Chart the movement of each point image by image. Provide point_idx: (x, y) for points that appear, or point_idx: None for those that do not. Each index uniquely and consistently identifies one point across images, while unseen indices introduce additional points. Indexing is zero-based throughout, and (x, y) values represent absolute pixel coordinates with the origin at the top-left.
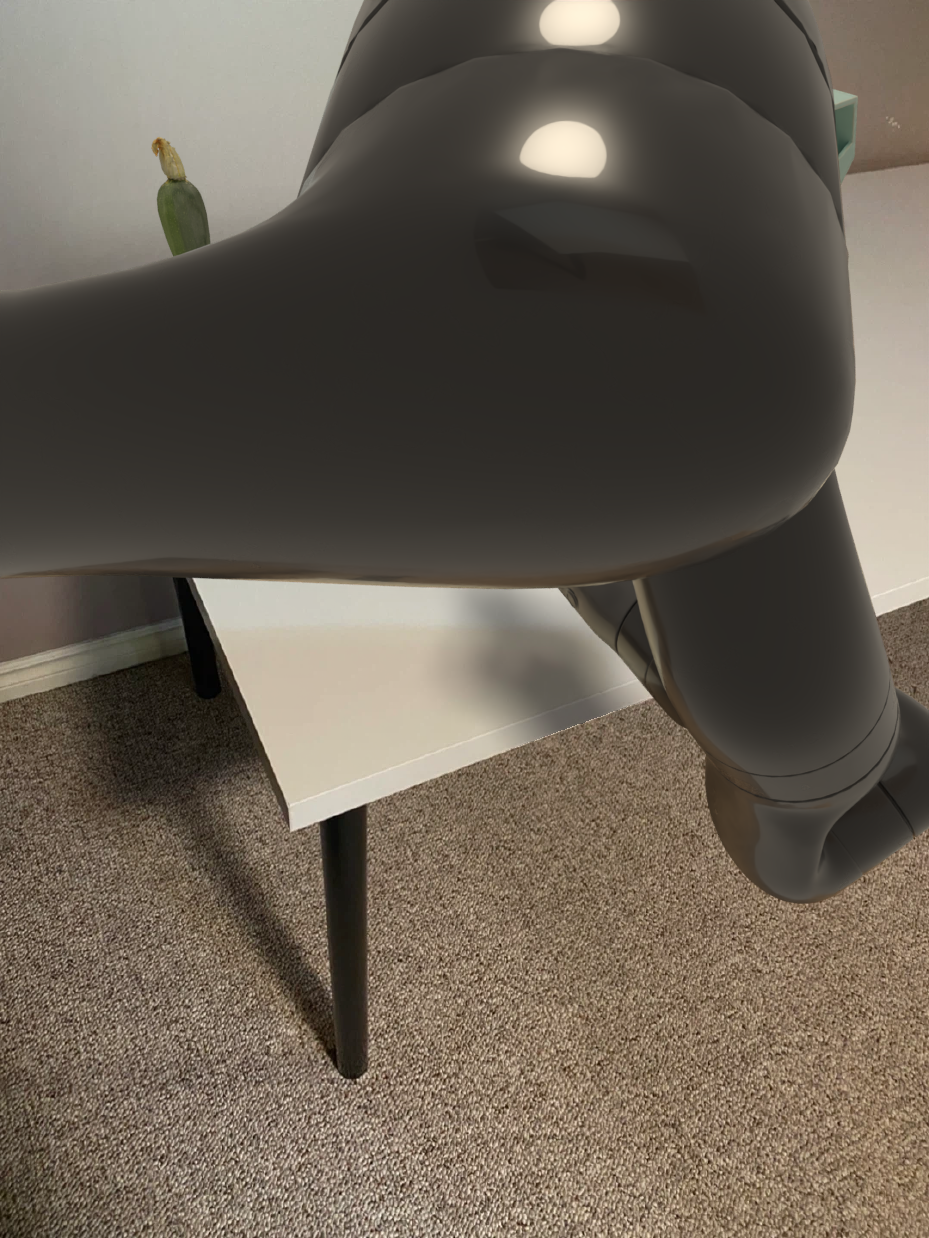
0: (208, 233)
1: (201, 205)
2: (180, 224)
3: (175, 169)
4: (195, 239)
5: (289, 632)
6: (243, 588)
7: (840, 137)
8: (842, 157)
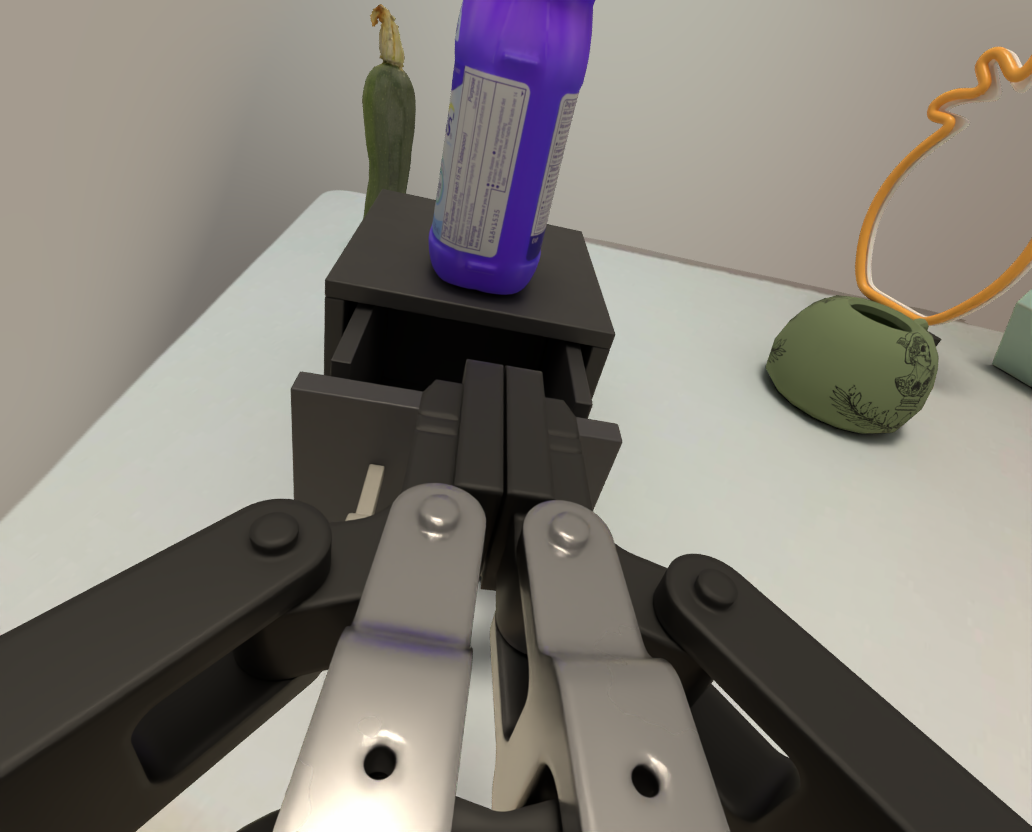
0: (409, 138)
1: (407, 100)
2: (375, 111)
3: (390, 49)
4: (388, 135)
5: None
6: (39, 565)
7: None
8: None
